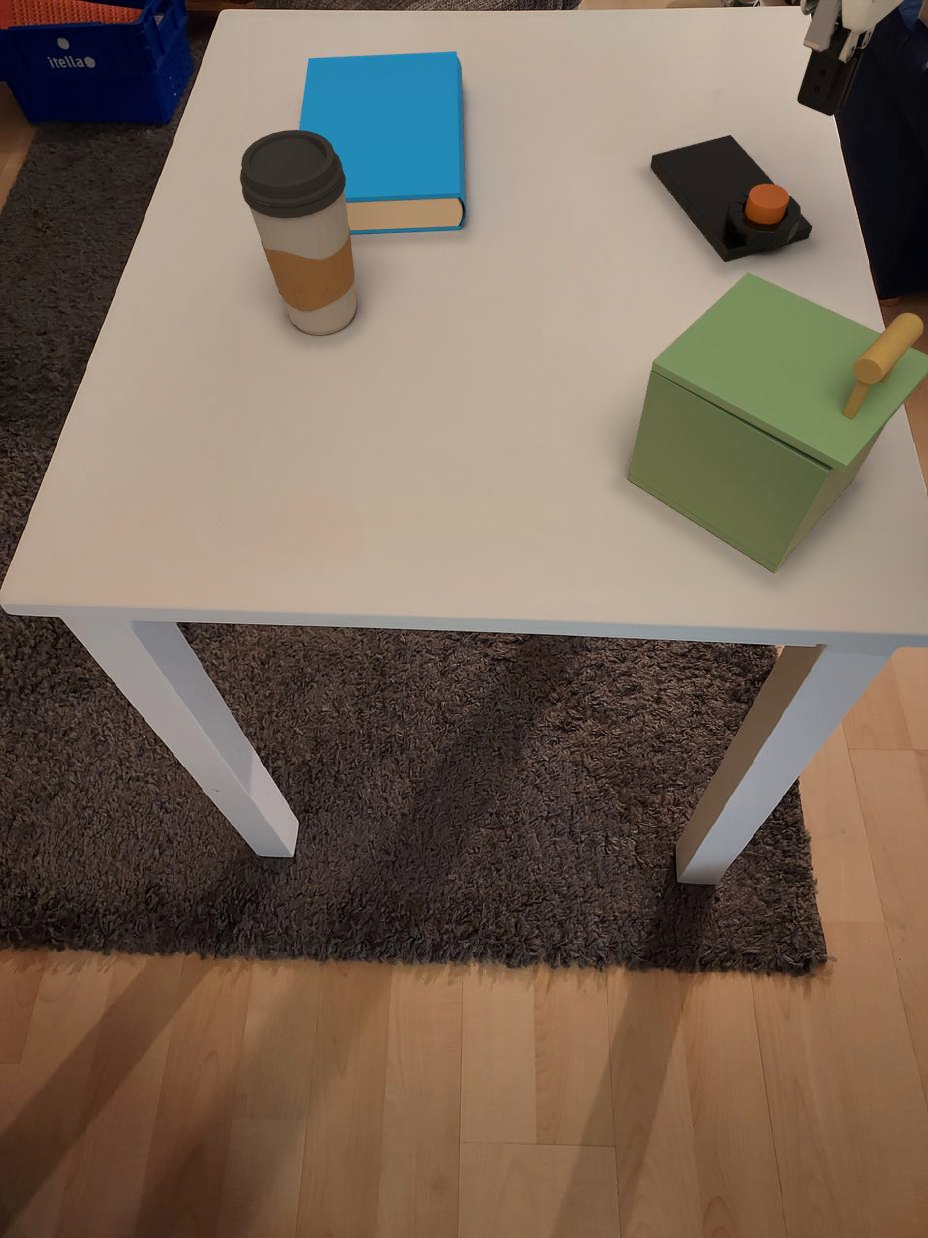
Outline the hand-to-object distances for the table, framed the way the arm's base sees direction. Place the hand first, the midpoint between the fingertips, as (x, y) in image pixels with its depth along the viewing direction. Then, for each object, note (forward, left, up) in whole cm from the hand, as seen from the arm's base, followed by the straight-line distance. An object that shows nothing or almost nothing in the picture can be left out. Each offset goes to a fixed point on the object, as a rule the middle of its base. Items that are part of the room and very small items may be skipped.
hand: (819, 104), depth 64 cm
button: (+1, -6, -14) cm, 15 cm away
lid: (-1, +24, -4) cm, 24 cm away
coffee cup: (+39, +14, -16) cm, 44 cm away
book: (+41, -10, -16) cm, 45 cm away
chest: (-1, +24, -16) cm, 29 cm away
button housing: (+5, -11, -16) cm, 20 cm away
